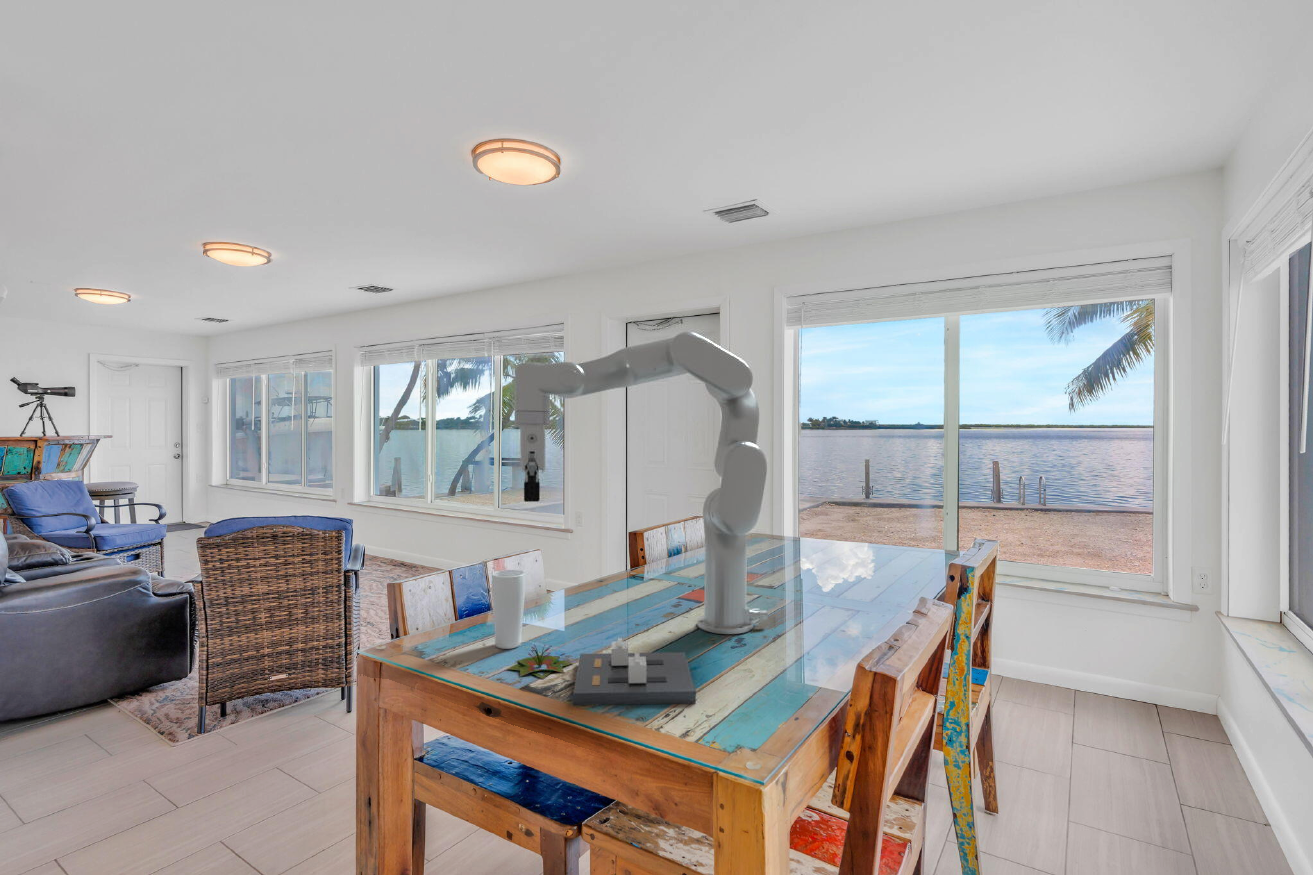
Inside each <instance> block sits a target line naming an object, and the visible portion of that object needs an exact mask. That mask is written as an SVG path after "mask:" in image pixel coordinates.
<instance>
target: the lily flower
mask: <svg viewBox="0 0 1313 875" xmlns="http://www.w3.org/2000/svg"><path fill="white" fill-rule="evenodd" d="M539 644H540V643H539ZM533 646H534V647H533ZM533 646H531V650H530V652H531V653H533V655H532V654H531V653H530V652H527V654H528V655H529V656H530V657H525V658H522V659H517V660H516V661H517V662H519V663H517V664H513V665H512V666H510V667H509V668H508V667H507V668H506V670H515V671H519V678H521V677H523V676H525V675H528V674H529V673H531V674H533V675H534V676H536V677H538V678H541V679H542V680H544V679H545V678H546V677H547V676H548V675H550V674H551V673H552V671H555V672H558V673H561V674H562V673H563V674H565V670H564V669H563V667H565V666H569V665H573V664H574V663H573V662H569V661H565V660H559V659H560V656H556V655H555V656H553V655H550V654H551V652H548V650H550V648H551V647H553V645H552V644H551V645H549V646H548V647H547V648H546V649H544V648H545V646H546V644H544V645H543V647H542V650H541V651H539V650H538V649H537V647H536V645H535V644H533ZM538 651H539V652H538ZM547 652H548V653H547ZM546 653H547V654H546ZM535 654H536V655H535ZM542 665H543V666H546V668H542ZM535 666H537V667H538V668H540V669H535ZM538 671H545V672H544V673H542V674H541V673H538Z"/></svg>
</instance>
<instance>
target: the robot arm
mask: <svg viewBox="0 0 1313 875" xmlns="http://www.w3.org/2000/svg"><path fill="white" fill-rule="evenodd" d="M686 374H689V375H690V376H691V377H693V378H695V379H696V380H699V381H700V382H702V383H704V386H705V389H706V391H707V392H708V393H709V395H711V396H712V397H713V398H714V399H715V400H716V401H717V403H718V405H719V407H720V411H721V421H720V422H721V423H720V431H719V435H718V442H717V448H716V453H715V458H714V470H715V471H716V474H718V476H719V477H721V481H720V487H718V488H715V489H713V490H712V491H710V493H709V494H708V495H707V496H706V498H705V500H704V502H703V508H702V516H703V517H702V519H703V529H704V608H703V609H704V612H703V613H704V615H702V616H701V615H700V617H698V619H697V626H698V628H699V629H701V630H703V631H706V632H709V633H712V634H720V635H737V634H744V633H747V632H750V631H751V630H752V629H753V627H754V620H756V619H759V620H768V611H767V610H765V609H762V610H760V608H750V607H749V606H748V605H747V589H748V588H747V579H748V578H747V576H748V574H747V570H748V568H747V566H748V564H747V563H748V562H747V561H748V544H747V534H749V533H750V532H751V531H752V530H753V529H754V528H755V527H756V525H757V523H758V521H759V518H760V514H761V510H762V504H763V503H762V502H763V497H764V493H765V492H764V491H765V486H766V480H767V473H768V462H767V458H766V456H765V453H764V451H763V450H762V449H761V447H760V446H758V445H757V441H758V432H759V424H760V408H759V403H758V400H757V398H756V395H755V393H754V392H753V390H752V385H753V382H754V375H753V371H752V369H751V368H750V366H749V364H748V363H746V361H744V360H743V359H742V358H740V357H738V356H736V355H735V354H733V353H732V352H730V351H729V350H726V349H725V348H723V347H721V346H720V345H718V344H716V343H714V342H713V341H711V340H710V339H708V338H705V337H704V336H702V335H701V334H699V333H697V332H693V331H682V332H680V333H678V334H677V335H674V337H669V338H665V339H659V340H656V341H651V342H646V343H642V344H637V345H632V346H627V347H624V348H621V349H619V350H617V351H615V352H612V353H611V354H608V355H606V356H603V357H600V358H596V359H593V360H589V361H585V362H580V363H576V362H572V361H562V362H554V363H553V362H552V363H551V362H550V363H541V362H528V361H527V362H520V363H518V364H517V365H516V366H515V369H514V427H520V428H519V433H520V434H519V438H520V439H519V443H520V446H519V448H520V463H521V471H522V473H524V474H525V476H524V483H523V501H524V502H527V503H528V502H529V503H531V502H532V503H534V502H538V503H539V502H540V496H541V495H540V494H541V492H540V488H541V487H540V486H541V485H540V478H539V476H540V474H539V471H541V473H545V472H546V430H545V429H546V428H547V427H548V428H549V427H550V425H551V395H553V396H559V397H560V398H564V399H575V398H578V397H579V398H580V397H583V396H586V395H587V396H588V395H592V394H596V393H600V392H601V393H602V392H605V391H608V390H614V389H621V388H623V389H624V388H629V387H632V386H637V385H641V384H646V383H650V382H654V381H658V380H663V379H667V378H673V377H677V376H678V377H679V376H681V375H686Z"/></svg>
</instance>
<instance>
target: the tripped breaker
mask: <svg viewBox="0 0 1313 875" xmlns="http://www.w3.org/2000/svg"><path fill="white" fill-rule="evenodd" d="M634 653H635V657H628V681H629V683H646V668H647V665H646V657H640V656H639V653H640V652H634Z"/></svg>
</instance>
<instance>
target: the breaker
mask: <svg viewBox="0 0 1313 875" xmlns="http://www.w3.org/2000/svg"><path fill="white" fill-rule="evenodd" d="M610 648H611V651H610V653H611V666H615V665H628V653H629V641H627V640H625V641H624V640H623V638H622V637H617V640H616V641H611V647H610Z"/></svg>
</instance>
